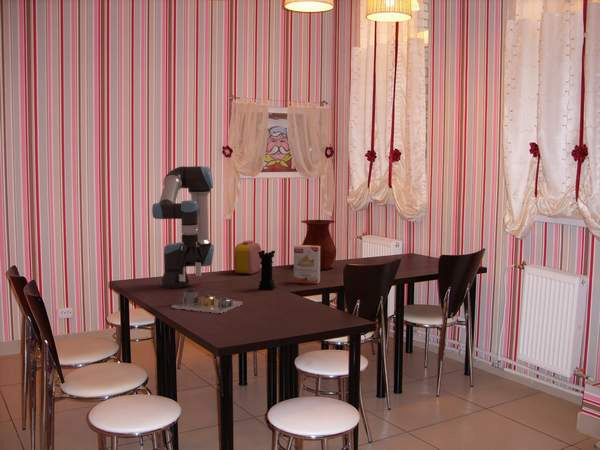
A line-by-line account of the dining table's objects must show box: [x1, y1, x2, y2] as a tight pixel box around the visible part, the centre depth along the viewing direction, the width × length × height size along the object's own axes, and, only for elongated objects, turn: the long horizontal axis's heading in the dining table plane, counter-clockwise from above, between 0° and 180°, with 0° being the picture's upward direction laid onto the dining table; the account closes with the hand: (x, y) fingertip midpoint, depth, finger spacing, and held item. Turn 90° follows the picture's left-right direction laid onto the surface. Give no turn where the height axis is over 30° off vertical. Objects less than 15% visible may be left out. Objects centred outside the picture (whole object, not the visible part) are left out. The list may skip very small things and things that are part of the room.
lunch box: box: [233, 240, 262, 275], centre depth 395 cm, size 18×11×19 cm, turn 162°
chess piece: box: [257, 249, 277, 291], centre depth 347 cm, size 8×8×20 cm
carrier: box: [171, 294, 243, 314], centre depth 304 cm, size 26×20×6 cm
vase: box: [300, 219, 337, 271], centre depth 413 cm, size 23×24×30 cm
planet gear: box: [181, 289, 200, 304], centre depth 308 cm, size 8×8×5 cm
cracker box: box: [293, 244, 321, 285], centre depth 363 cm, size 14×6×21 cm, turn 77°
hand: (190, 278), depth 307 cm, fingers open, 13 cm apart
